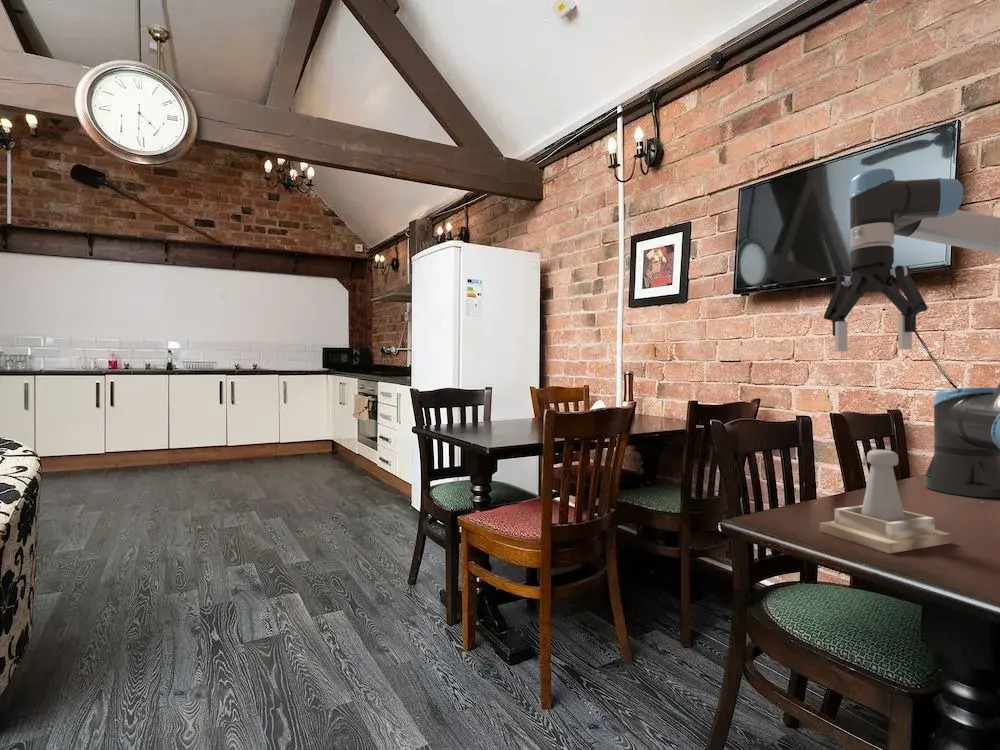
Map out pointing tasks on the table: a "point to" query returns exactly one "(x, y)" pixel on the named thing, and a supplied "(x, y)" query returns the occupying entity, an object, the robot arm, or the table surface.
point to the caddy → (885, 530)
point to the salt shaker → (882, 487)
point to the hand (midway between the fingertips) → (871, 350)
